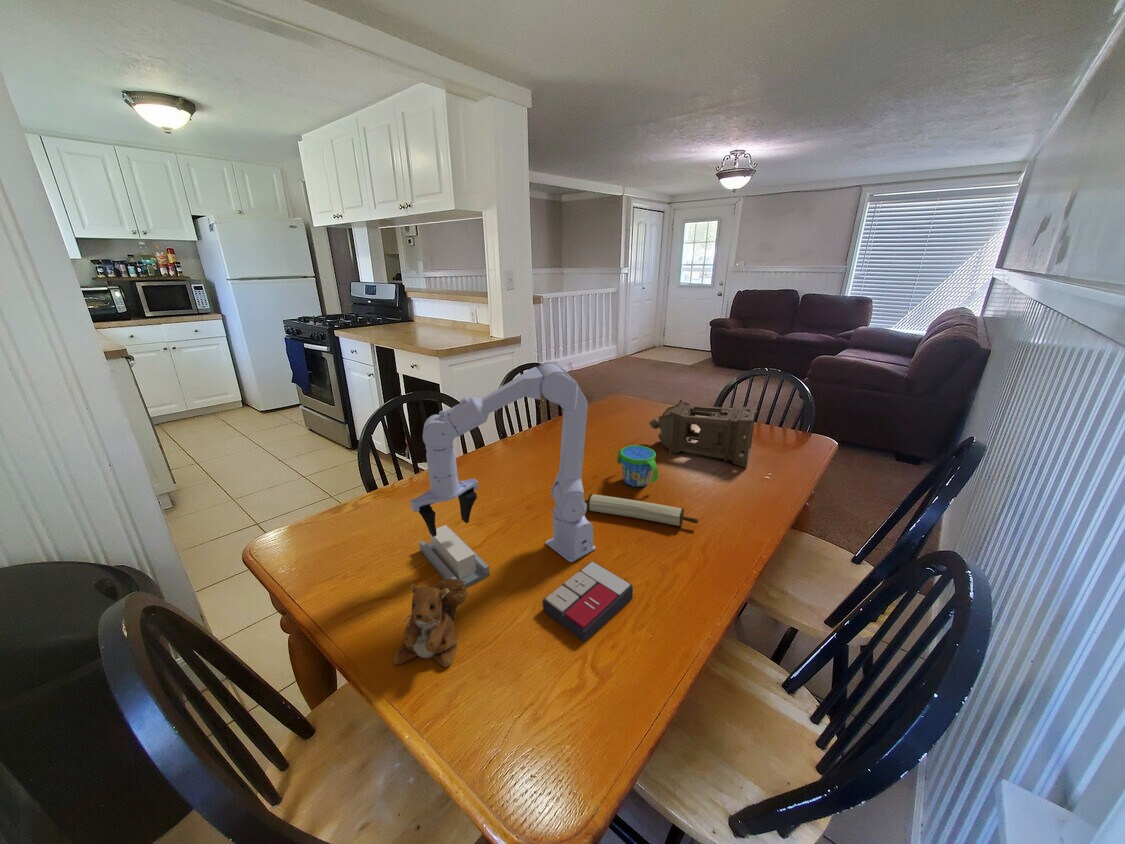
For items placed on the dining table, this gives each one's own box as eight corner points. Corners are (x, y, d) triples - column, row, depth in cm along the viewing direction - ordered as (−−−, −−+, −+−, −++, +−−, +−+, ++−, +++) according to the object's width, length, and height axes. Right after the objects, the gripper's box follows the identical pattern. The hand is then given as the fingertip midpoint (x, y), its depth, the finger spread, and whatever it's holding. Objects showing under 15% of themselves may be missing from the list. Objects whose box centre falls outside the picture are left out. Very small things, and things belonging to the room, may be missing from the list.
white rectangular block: (476, 570, 93) (474, 553, 91) (459, 579, 90) (457, 561, 89) (447, 540, 103) (445, 524, 101) (431, 547, 100) (429, 531, 99)
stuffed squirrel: (389, 668, 72) (377, 607, 67) (429, 606, 85) (421, 551, 80) (445, 679, 70) (436, 617, 65) (477, 613, 83) (471, 557, 78)
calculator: (541, 597, 82) (591, 557, 92) (542, 614, 84) (592, 573, 94) (583, 629, 75) (634, 582, 85) (584, 647, 77) (633, 598, 87)
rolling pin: (697, 523, 111) (699, 507, 109) (696, 536, 106) (698, 518, 104) (579, 502, 121) (579, 486, 119) (573, 512, 116) (573, 496, 114)
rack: (489, 575, 93) (488, 566, 92) (455, 593, 88) (454, 583, 87) (451, 537, 106) (450, 528, 105) (420, 550, 101) (419, 541, 100)
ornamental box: (642, 455, 156) (642, 409, 147) (656, 433, 169) (656, 390, 161) (745, 473, 140) (752, 424, 132) (751, 447, 154) (757, 401, 146)
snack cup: (666, 489, 127) (669, 458, 124) (637, 498, 123) (639, 466, 119) (634, 468, 140) (636, 439, 137) (607, 475, 136) (608, 446, 132)
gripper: (465, 455, 96) (470, 508, 101) (401, 475, 87) (410, 531, 92) (481, 466, 91) (485, 521, 96) (414, 488, 82) (423, 547, 87)
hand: (449, 527), depth 94 cm, fingers open, 7 cm apart
